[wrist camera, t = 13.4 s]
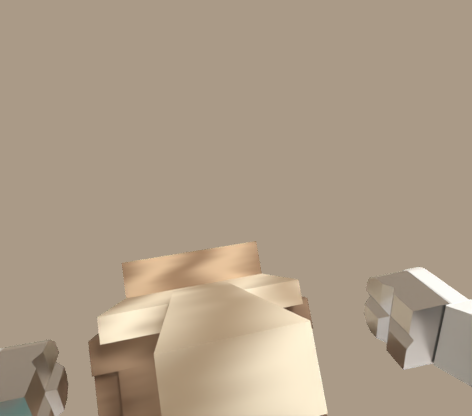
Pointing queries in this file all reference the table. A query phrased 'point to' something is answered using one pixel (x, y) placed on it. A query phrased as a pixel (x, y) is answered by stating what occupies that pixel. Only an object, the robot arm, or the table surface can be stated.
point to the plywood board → (220, 334)
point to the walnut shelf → (135, 373)
